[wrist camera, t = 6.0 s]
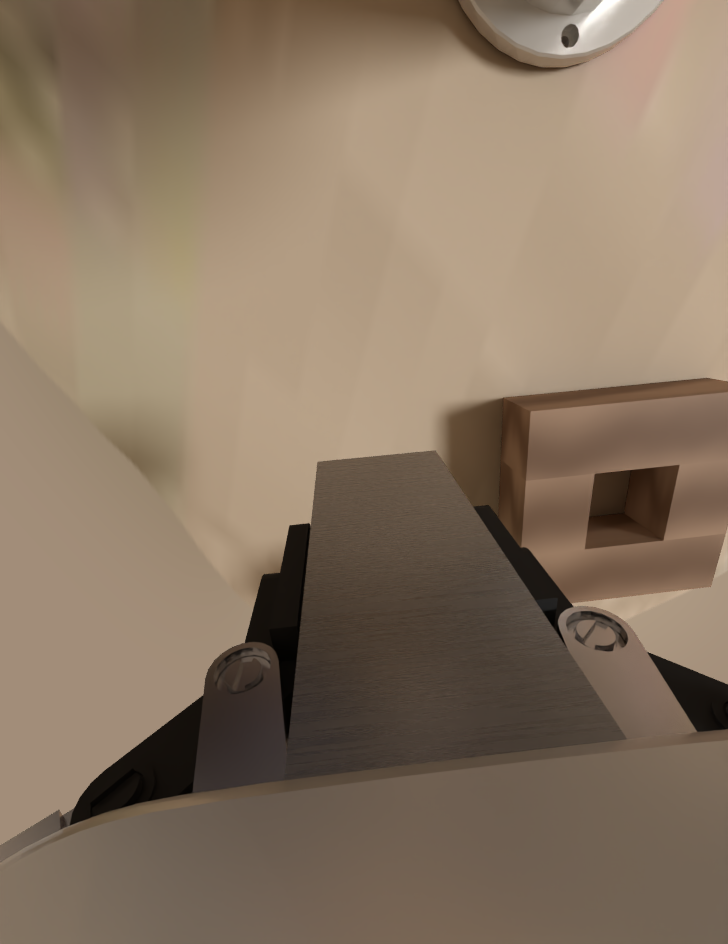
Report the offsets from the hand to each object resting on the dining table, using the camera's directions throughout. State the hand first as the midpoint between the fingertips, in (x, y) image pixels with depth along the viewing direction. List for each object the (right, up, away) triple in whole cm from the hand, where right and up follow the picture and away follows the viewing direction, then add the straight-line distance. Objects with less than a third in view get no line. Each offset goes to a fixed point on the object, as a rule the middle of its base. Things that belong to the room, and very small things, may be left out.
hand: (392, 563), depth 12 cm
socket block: (+16, +2, +19) cm, 24 cm away
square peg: (0, +1, +3) cm, 3 cm away
